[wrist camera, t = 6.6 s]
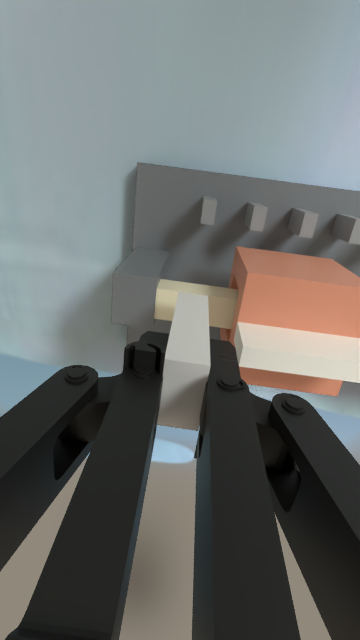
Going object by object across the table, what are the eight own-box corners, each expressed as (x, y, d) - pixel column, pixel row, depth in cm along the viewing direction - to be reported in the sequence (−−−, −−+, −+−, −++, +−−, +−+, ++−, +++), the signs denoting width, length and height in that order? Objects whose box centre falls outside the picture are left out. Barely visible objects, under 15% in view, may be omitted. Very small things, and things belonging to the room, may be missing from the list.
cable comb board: (129, 341, 28) (103, 399, 21) (140, 162, 23) (110, 158, 15) (453, 385, 28) (541, 460, 21) (548, 216, 22) (716, 237, 15)
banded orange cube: (219, 331, 23) (228, 411, 15) (236, 246, 21) (255, 290, 13) (305, 343, 23) (357, 429, 15) (331, 258, 20) (409, 310, 13)
